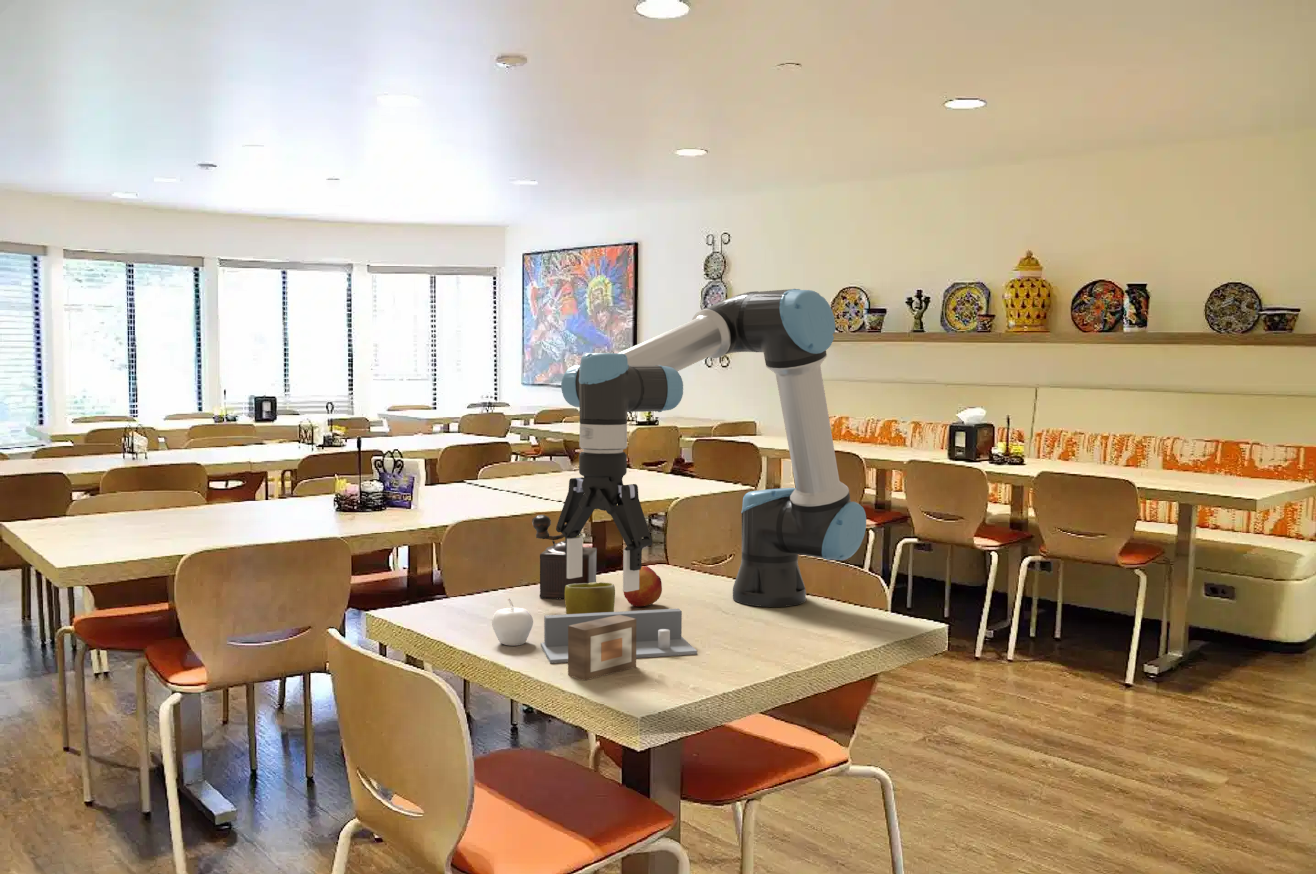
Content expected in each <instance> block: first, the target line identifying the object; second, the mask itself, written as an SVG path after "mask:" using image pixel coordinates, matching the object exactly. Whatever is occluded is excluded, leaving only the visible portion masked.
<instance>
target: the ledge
mask: <svg viewBox="0 0 1316 874" xmlns="http://www.w3.org/2000/svg"><path fill="white" fill-rule="evenodd" d="M616 615H623V616H627V617H631V618H635V619H636V659H640V658H658V657H660V658H661V657H675V656H688V655H697V654H698V650H697V649H696V648H695V647H694V646H692V644H691V643H689V642H688V641H687V640H686V639H685V638H684V637H683V635H682V634H683V633H682V627H683V626H682V624H683V623H682V619H683V618H682V617H683V616H682V615H683V612H682V610H681V609H680V608H663V609H645V610H642V609H641V610H628V611H627V610H626V611H624V610H623V611H614V612H602V613H583V614H549V615H548V614H547V615H546V614H545V615H544V619H543V621H544V624H543V627H544V632H543V634H544V635H543V636H544V637H543V638H544V640H543V642H540V648H541V649H542V651H543V653H544V655H545V657H546V659H547V660H548V662H549V663H550V664H563V663H568V626H569V625H574V624H579V623H583V622H588V621H592V620H597V619H602V618H606V617H611V616H616Z"/></svg>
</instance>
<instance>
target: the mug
mask: <svg viewBox="0 0 1316 874" xmlns="http://www.w3.org/2000/svg"><path fill="white" fill-rule="evenodd" d="M615 599H616V587H615V585H614V584H613V583H611V582H603V581H602V582H598V581H596V582H593V583H588V584H587V583H582V584H569V585H566V586H565V600H564V603H565V613H566V614H583V613H602V612H615Z"/></svg>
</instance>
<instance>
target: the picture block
mask: <svg viewBox="0 0 1316 874" xmlns="http://www.w3.org/2000/svg"><path fill="white" fill-rule="evenodd" d="M567 667H568V668H567V676H570V677H573V678H575V679H578V680H582V681H588V680H591V679H596V678H601V677H604V676H608V675H612V674H615V673H618V672H622V671H626V670H629V669H634V668H636V667H637V658H636V619H635V618H631V617H627V616H623V615H616V616H611V617H606V618H602V619H597V620H592V621H588V622H583V623H579V624H574V625H569V626H568V662H567Z"/></svg>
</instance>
